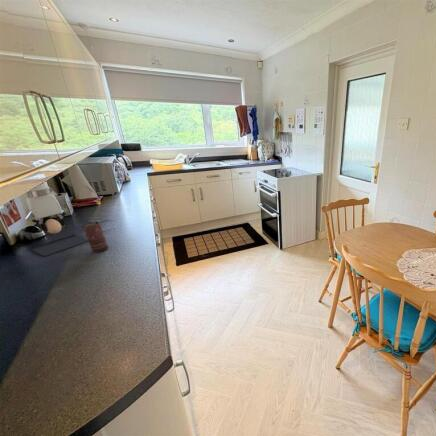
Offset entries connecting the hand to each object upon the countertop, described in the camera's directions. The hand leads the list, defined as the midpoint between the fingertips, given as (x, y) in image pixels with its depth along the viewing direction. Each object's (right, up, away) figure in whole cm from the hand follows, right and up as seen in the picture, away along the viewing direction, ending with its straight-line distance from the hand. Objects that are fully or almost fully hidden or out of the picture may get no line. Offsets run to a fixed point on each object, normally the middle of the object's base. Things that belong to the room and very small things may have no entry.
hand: (53, 227), depth 114 cm
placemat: (0, -9, +3) cm, 10 cm away
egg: (0, -3, +1) cm, 3 cm away
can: (+24, -11, -1) cm, 27 cm away
